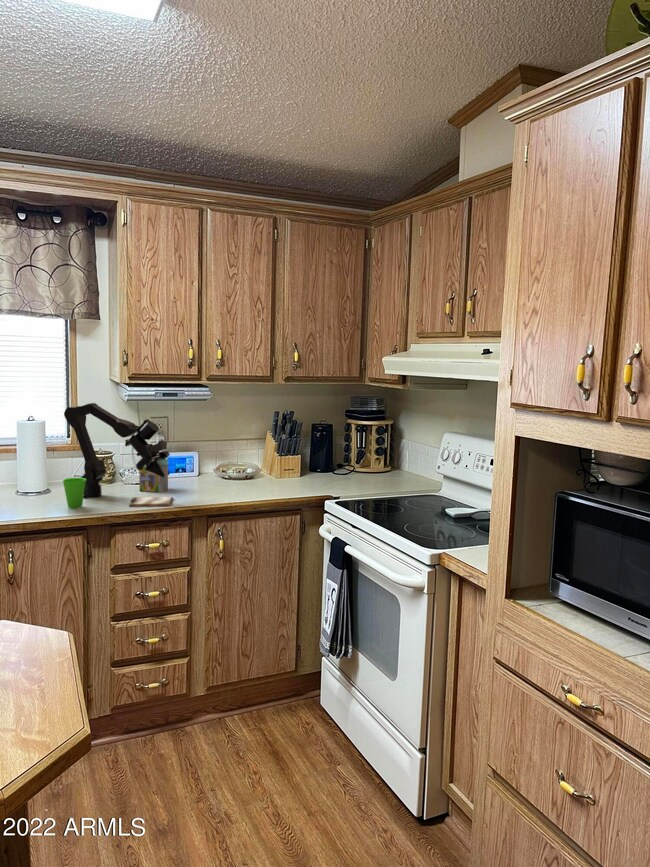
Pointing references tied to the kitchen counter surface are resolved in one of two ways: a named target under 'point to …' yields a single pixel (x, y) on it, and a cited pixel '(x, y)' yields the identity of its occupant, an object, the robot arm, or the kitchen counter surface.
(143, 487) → the chalk box
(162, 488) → the marker
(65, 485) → the cup
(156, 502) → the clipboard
